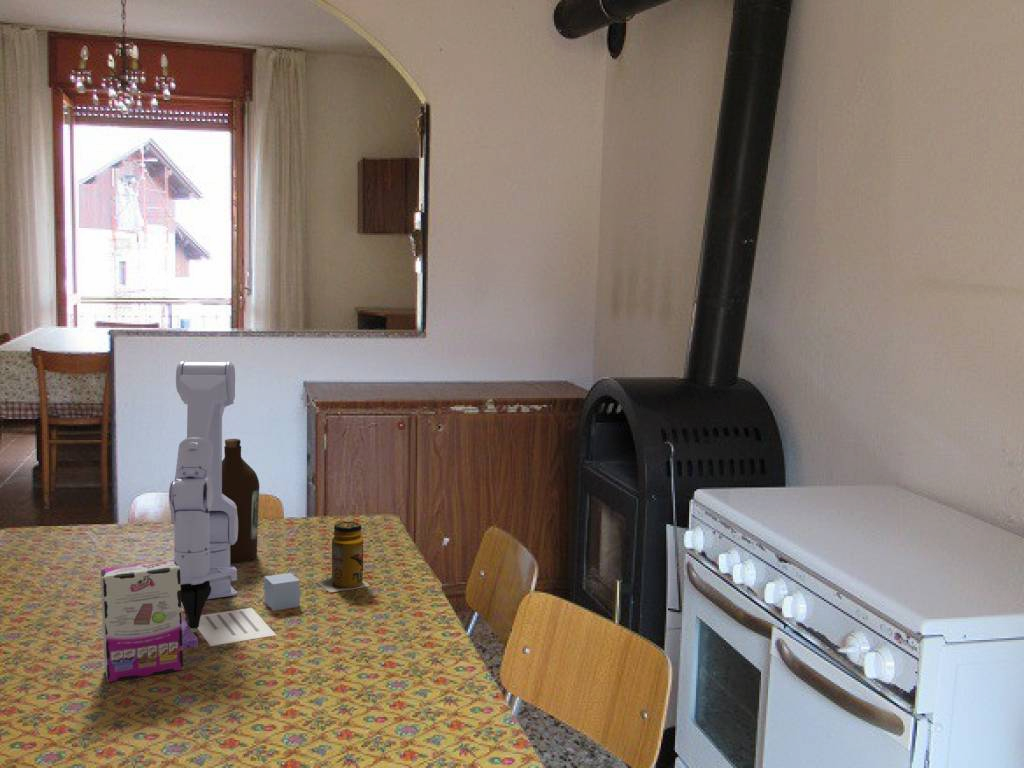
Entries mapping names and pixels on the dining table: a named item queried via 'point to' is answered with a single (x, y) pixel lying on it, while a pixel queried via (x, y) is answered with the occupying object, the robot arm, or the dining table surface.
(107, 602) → the candy bar box
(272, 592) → the cube
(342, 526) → the condiment
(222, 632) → the letter
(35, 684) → the dining table surface
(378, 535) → the dining table surface
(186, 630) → the sponges
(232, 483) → the olive oil
